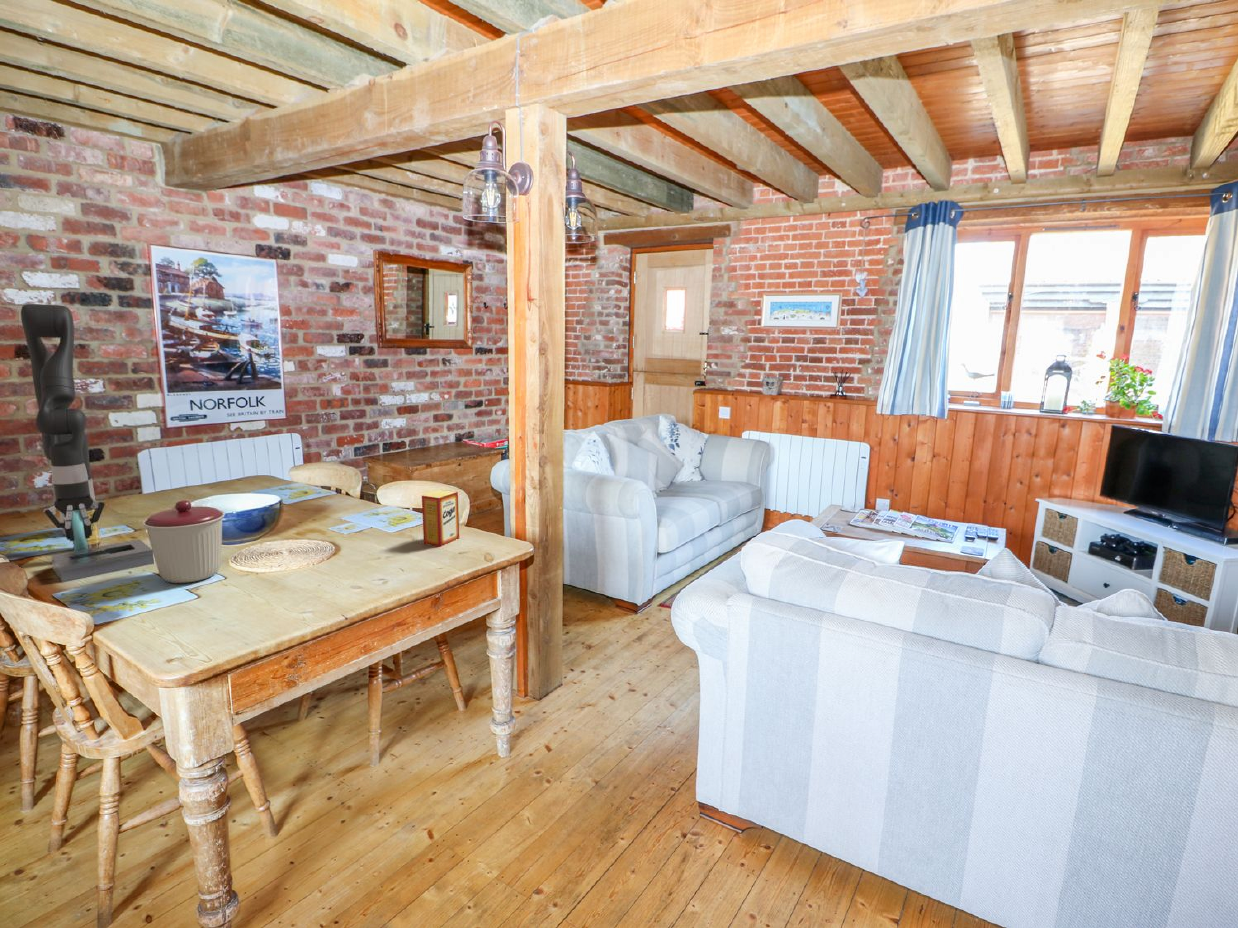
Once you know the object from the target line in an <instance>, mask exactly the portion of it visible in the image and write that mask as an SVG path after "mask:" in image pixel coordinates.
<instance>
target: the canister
mask: <svg viewBox="0 0 1238 928" xmlns="http://www.w3.org/2000/svg"><path fill="white" fill-rule="evenodd" d="M174 507H175V508H171V509H166V510H162V511H159V512H155V513H154V514H151V515H150V516H149V517H148V518H146V519H144V520H143V521H142V523H141V524H142V527H144V528H146V532H147V536H148V539H149V542H150V548H151V549H152V551H153V558H154V562H155V565H156V567H157V568H156V569H157V571H158V573H159V576H160V577H161V579H163V581H165V582H168V583H172V584H186V583H193V582H198V581H202V580H206V579H208V578H210V577H213V576H214V575H216V574H217V573H218V572H219V570H220V568H221V563H222V562H221V561H222V547H223V546H222V544H223V518H224V517H225V515H226V514H225V512H224V511H222V510H219V509H218V508H217V507H216V508H215V507H212V506H211V507H210V506H201V505H200V506H192V503H191V501H188V500H178V501H177V502H176V503H175V505H174Z"/></svg>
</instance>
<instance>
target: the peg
mask: <svg viewBox="0 0 1238 928" xmlns="http://www.w3.org/2000/svg"><path fill="white" fill-rule="evenodd" d="M71 528H72V532H73V539H74V541H72V545H73V551H76V550H82V549H88V546H87V539H86V533H85V525H84V519H83V517H82V514H81V511H80V510H75V511H72V520H71Z"/></svg>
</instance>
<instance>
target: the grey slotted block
mask: <svg viewBox="0 0 1238 928" xmlns="http://www.w3.org/2000/svg"><path fill="white" fill-rule="evenodd" d="M50 557H51V558H50V559H51V565H52V570H53V571H54V572H55V574H56V575H57V576H58V578H59V580H60V581H61V582H62V583H67V582H70V581H76V580H80V579H86V578H90V577H95V576H100V575H104V574H108V573H113V572H114V573H115V572H119V571H123V570H128V569H133V568H137V567H143V566H148V565H154V564H155V558H154V554H153V551H152V547H151V546H150V547H149V546H148V545H147V544H146V543H145V542H144V541H142V540H141V539H139V538H138V539H133V540H127V541H122V542H116V543H112V544H111V543H110V544H105V545H99V547H93V548H88V549H82V550H76V551H74V550H73V551H71V550H70V551H67V552H60V553H56V554H55V553H54V554H51V555H50Z"/></svg>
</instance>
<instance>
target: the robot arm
mask: <svg viewBox="0 0 1238 928" xmlns="http://www.w3.org/2000/svg"><path fill="white" fill-rule="evenodd" d="M20 319H21V320H20V321H21V325H22V330H23V333H24V337H25V341H26V345H27V349H28V352H29V359H30V365H31V373H32V374H31V375H32V382H33V387H34V394H35V398H36V403H37V407H38V408H37V409H38V411H37V414H36V418H35V427H36V429H37V431H39V433H40V434H41V441H42V449H43V453H44V455H45V457H46V459H47V460H49V461H50V465H51V478H52V484H53V486H52V487H53V493H54V496H55V497H54V498H55V502H54V504H53V505H51V506H50V507H47V508H43V511H42V512H43V513H44V514H45V515H46V516H47V518H48V519H49V520H50V521H51V522H52V524H53V525H54V526H55V527H56V528H57V529H61V531H62V535H64V536H65V538H66V540H68V541H70V542H73V541H74V539H73V532H72V528H71V520H72V511H75V510H80V511H81V514H82V517H83V519H84V525H85V533H86V539H87V538H90V536H92V530H91V524H92V523H95V522H98V530H100V524H99V520H100V517H101V514H102V513H103V509H104V507H105V502H104V501H102V500H96V497H95V490H94V489H95V488H94V483H93V477H92V471H91V470H92V469H91V463H90V452H89V442H88V436H87V433H86V432H85V431H86V427H87V416H86V414H85V413H84V411H82V410H81V409H79V408H70V407H71V406H72V404H73V403H74V401H76V388H75V380H74V371H73V370H74V355H75V354H74V353H75V349H74V348H75V325H74V318H73V313H72V311H71V310H70V308H69V307H68V306H65V305H58V304H57V305H56V304H37V303H30V304H29V303H28V304H27V303H25V304H24V305H22V306H21V309H20ZM42 338H45V339H47V338H48V339H54V338H55V339H56V338H57V339H59V344H58V346H57V348H56V350H55V351H54V352H53V354H52V353H51V352H50V350H49V349H48V348H47V347H46V345H45V344H44V342H43V340H42ZM92 504H93V505H94V508H95V511H94V513H93V516H92V518H90V519H89V516H88V514H87V511H88V509H89V508H90V506H91V505H92ZM56 510H58V511H59V512H58V513H59V517H60V521H59V520H58V519H57V517H56V516H55V515H56V513H57V512H56Z"/></svg>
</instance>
